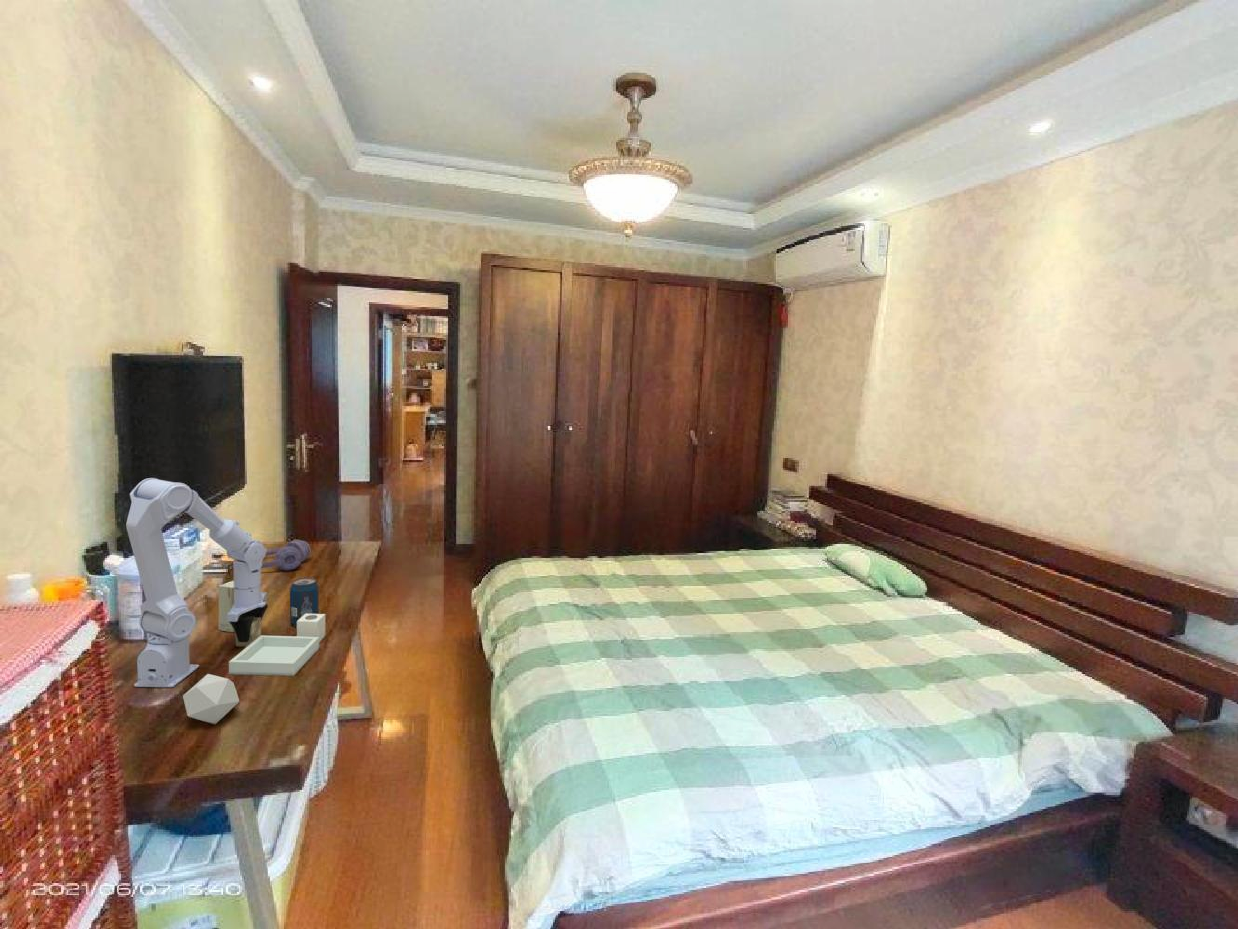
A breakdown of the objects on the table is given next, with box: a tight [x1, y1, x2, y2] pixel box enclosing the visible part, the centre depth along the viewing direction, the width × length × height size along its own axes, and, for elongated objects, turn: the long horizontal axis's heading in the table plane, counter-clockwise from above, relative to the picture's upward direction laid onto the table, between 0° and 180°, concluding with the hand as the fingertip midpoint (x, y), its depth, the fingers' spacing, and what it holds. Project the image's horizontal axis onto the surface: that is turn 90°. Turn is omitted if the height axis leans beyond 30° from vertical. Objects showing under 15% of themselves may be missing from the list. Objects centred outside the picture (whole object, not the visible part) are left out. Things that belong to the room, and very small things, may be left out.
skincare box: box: [218, 580, 235, 633], centre depth 157 cm, size 6×4×12 cm
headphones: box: [261, 539, 312, 572], centre depth 206 cm, size 18×8×20 cm
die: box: [182, 673, 240, 725], centre depth 117 cm, size 8×9×10 cm
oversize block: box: [296, 613, 326, 643], centre depth 153 cm, size 5×5×6 cm
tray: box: [228, 634, 320, 677], centre depth 141 cm, size 14×14×3 cm
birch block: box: [235, 617, 262, 647], centre depth 149 cm, size 4×4×6 cm
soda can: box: [289, 577, 320, 628], centre depth 162 cm, size 7×7×12 cm
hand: (248, 637), depth 149 cm, fingers closed on birch block, 4 cm apart
